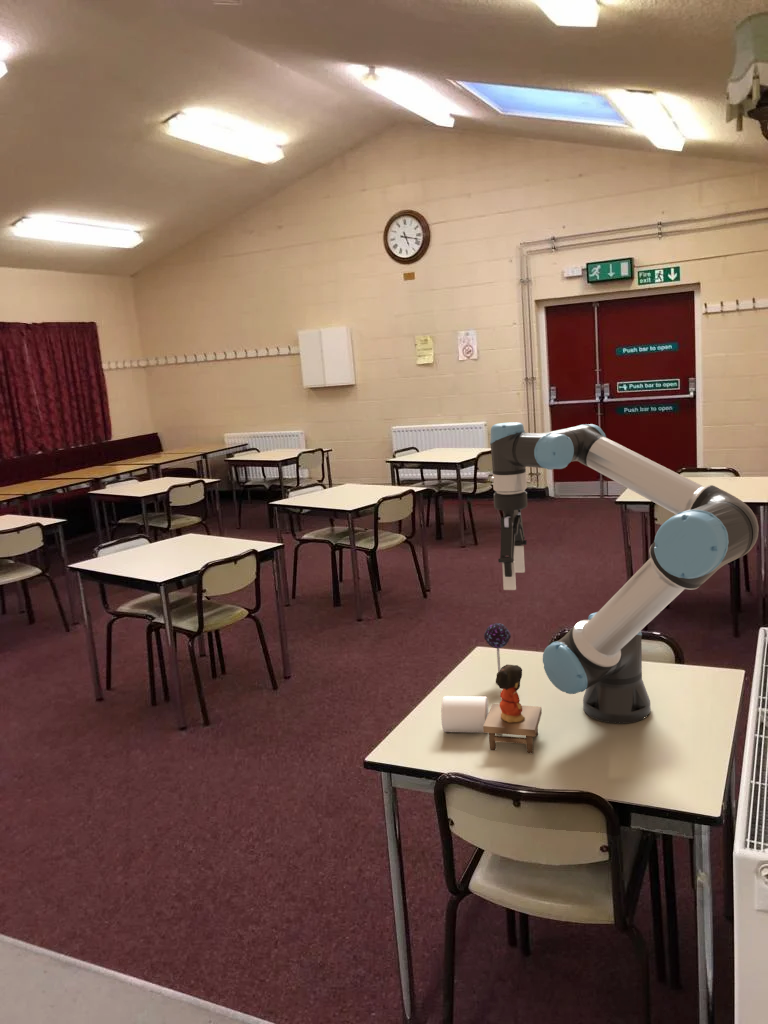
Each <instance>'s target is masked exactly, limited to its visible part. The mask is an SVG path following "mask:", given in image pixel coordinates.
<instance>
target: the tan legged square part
mask: <svg viewBox="0 0 768 1024" xmlns="http://www.w3.org/2000/svg"><path fill="white" fill-rule="evenodd" d="M521 706H522V712H521V714H522V715H523V716H524V717H525V719H524V720H522V721H520V722H512V723H508V722H507V721H504V720H503V719H501V713H502V711H501V708H500V703H492V704H491V707H490V709H489V713H488V716H487V718H486V721H485V723H484V726H483V730H484V734H485V733H486V734H488V741H489V742H488V743H489V745H488V746H489V751H496V750H497V743H498V742H499V743H507V744H508V743H511V744H520V745H521V744H523V745H525V747H526V753H527V754H530V755H531V754H534V742H533V741H534V740H533V738H534V737H536V736H538V735H539V728H538V727H539V724H540V721H541V716H542V706H539V705H538V706H536V705H535V706H533V705H522V704H521ZM498 734H499V735H498ZM506 735H510V736H506ZM511 735H512V736H511ZM518 736H523V737H518Z"/></svg>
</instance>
